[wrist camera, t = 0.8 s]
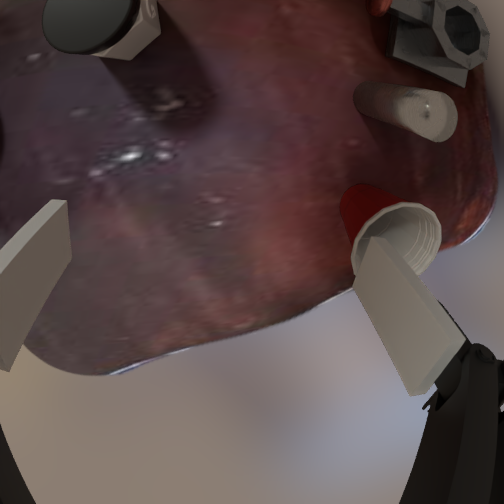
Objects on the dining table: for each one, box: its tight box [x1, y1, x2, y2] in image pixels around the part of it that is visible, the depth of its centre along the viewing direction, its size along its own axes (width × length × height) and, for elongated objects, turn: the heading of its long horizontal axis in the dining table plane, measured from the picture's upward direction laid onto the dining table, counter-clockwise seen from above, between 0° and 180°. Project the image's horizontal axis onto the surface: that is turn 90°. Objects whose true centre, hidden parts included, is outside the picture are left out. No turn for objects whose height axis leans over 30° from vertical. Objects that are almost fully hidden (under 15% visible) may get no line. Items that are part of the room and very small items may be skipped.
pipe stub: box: [353, 81, 458, 142], centre depth 27 cm, size 4×4×14 cm
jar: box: [42, 0, 161, 61], centre depth 21 cm, size 9×8×12 cm
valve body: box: [366, 0, 490, 88], centre depth 25 cm, size 12×16×7 cm
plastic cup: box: [340, 184, 441, 276], centre depth 35 cm, size 11×11×12 cm
